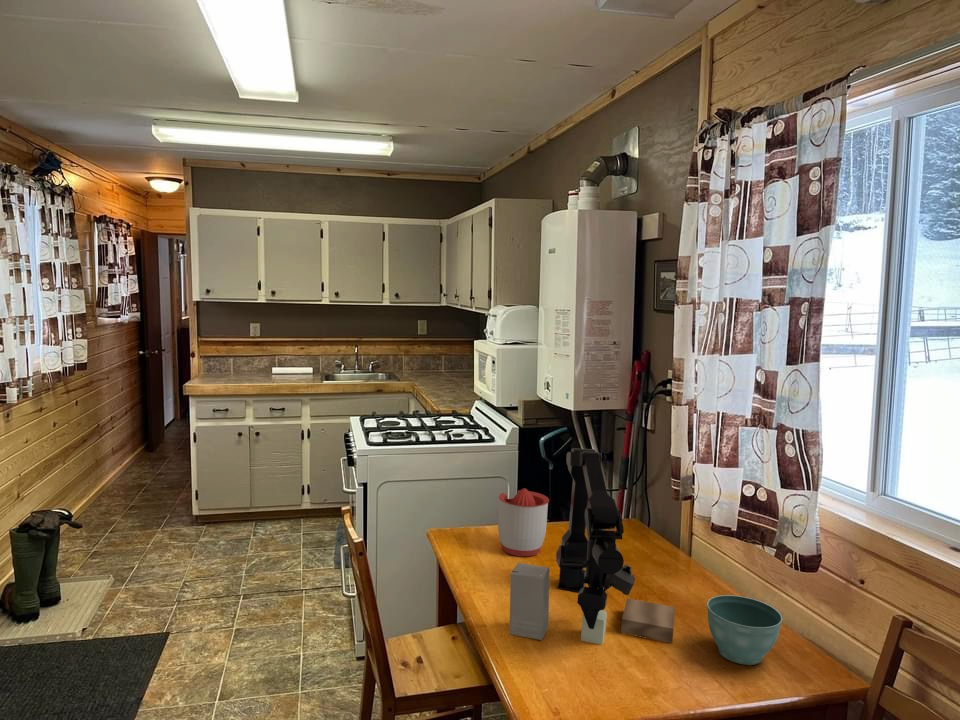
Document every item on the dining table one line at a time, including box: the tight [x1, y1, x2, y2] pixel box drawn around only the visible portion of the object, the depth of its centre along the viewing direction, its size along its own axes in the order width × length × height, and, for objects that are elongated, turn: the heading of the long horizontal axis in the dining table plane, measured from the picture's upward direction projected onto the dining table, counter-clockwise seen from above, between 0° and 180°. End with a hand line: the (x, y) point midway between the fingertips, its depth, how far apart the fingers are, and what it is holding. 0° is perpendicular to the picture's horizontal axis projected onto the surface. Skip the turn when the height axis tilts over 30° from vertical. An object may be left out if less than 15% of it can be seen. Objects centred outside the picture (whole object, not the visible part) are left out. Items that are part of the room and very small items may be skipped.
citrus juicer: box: [497, 487, 550, 558], centre depth 214 cm, size 16×17×20 cm
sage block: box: [580, 610, 608, 646], centre depth 162 cm, size 5×5×6 cm
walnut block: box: [620, 598, 676, 644], centre depth 169 cm, size 12×12×4 cm
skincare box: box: [509, 562, 550, 641], centre depth 162 cm, size 8×7×16 cm
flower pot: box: [706, 594, 783, 666], centre depth 158 cm, size 16×16×11 cm
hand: (594, 619), depth 162 cm, fingers open, 9 cm apart
